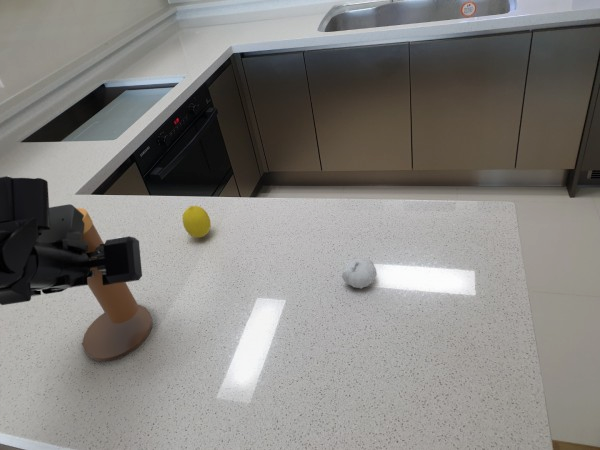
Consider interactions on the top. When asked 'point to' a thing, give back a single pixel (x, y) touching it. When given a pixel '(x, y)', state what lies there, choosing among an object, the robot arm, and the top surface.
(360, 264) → the garlic
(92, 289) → the orange cylinder
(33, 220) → the robot arm
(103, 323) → the round brown plate
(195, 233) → the lemon
